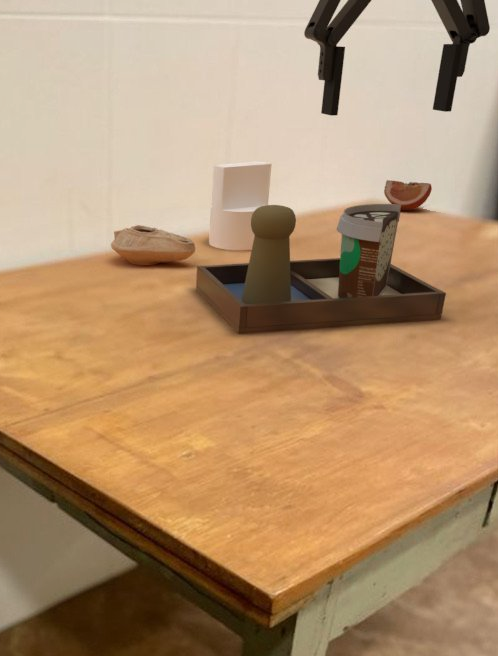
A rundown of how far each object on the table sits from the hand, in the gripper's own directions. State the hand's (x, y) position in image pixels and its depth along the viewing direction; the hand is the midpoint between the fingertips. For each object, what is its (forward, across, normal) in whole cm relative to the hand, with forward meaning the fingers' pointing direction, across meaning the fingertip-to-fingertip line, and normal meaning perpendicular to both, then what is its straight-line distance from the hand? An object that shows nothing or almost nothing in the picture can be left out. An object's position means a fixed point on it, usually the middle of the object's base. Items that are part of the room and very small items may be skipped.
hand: (386, 112), depth 91 cm
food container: (+21, +1, 0) cm, 21 cm away
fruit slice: (+22, -35, -54) cm, 68 cm away
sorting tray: (+22, +6, 0) cm, 23 cm away
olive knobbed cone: (+21, +12, 0) cm, 24 cm away
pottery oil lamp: (+22, +21, -24) cm, 39 cm away
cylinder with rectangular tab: (+22, +5, -33) cm, 40 cm away
